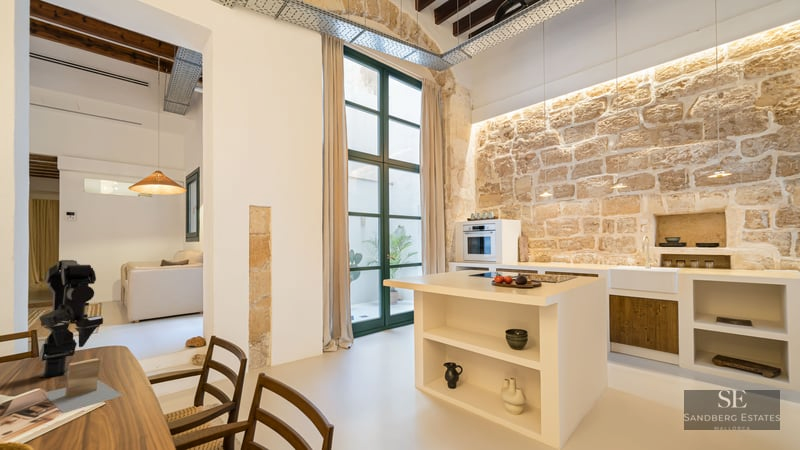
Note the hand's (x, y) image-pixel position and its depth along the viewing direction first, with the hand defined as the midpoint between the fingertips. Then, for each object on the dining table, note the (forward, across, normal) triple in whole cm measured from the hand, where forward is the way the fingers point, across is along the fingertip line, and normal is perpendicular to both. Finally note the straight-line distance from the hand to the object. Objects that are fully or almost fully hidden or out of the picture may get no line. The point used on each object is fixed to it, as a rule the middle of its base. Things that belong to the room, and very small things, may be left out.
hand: (69, 346), depth 113 cm
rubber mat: (+14, +12, -4) cm, 19 cm away
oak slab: (+14, +10, -3) cm, 17 cm away
